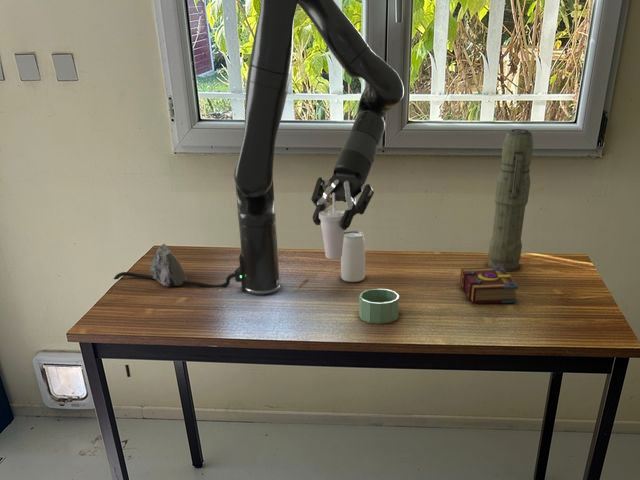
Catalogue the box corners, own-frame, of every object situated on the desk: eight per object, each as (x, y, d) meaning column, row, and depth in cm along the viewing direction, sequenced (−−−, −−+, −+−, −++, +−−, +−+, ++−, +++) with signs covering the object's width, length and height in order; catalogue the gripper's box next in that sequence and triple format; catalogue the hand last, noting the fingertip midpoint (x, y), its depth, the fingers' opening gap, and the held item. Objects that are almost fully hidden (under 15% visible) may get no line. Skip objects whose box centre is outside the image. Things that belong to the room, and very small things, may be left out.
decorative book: (471, 305, 173) (473, 285, 171) (457, 282, 187) (459, 264, 184) (516, 303, 174) (519, 284, 171) (499, 281, 187) (501, 262, 185)
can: (364, 282, 187) (365, 237, 180) (340, 282, 187) (340, 237, 180) (364, 274, 192) (365, 230, 185) (341, 274, 192) (340, 230, 185)
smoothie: (327, 262, 156) (325, 197, 148) (315, 254, 161) (313, 191, 153) (352, 258, 158) (352, 194, 150) (339, 250, 163) (339, 187, 155)
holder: (356, 321, 165) (356, 301, 163) (363, 306, 173) (363, 287, 170) (395, 324, 164) (395, 304, 161) (400, 309, 171) (401, 290, 169)
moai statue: (513, 258, 202) (531, 126, 182) (523, 272, 193) (543, 134, 173) (483, 259, 202) (497, 126, 182) (491, 273, 193) (507, 135, 173)
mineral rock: (153, 272, 194) (147, 235, 188) (192, 271, 195) (187, 234, 189) (145, 288, 184) (138, 250, 178) (186, 287, 184) (181, 249, 179)
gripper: (322, 144, 155) (295, 211, 154) (378, 151, 149) (350, 221, 148) (335, 165, 162) (309, 229, 161) (390, 172, 156) (363, 239, 154)
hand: (329, 225), depth 154 cm, fingers closed on smoothie, 6 cm apart
